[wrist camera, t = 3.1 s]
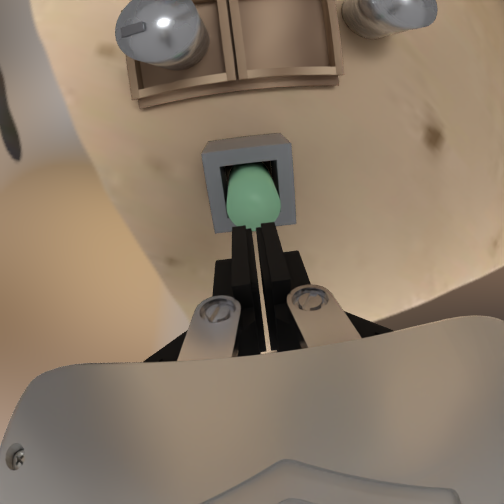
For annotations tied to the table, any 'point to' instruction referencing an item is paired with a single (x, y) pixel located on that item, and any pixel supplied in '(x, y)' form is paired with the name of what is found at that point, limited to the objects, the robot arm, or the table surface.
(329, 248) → the table surface
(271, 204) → the button
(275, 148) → the button housing
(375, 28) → the cylinder
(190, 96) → the wooden divided tray
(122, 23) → the seated billet
